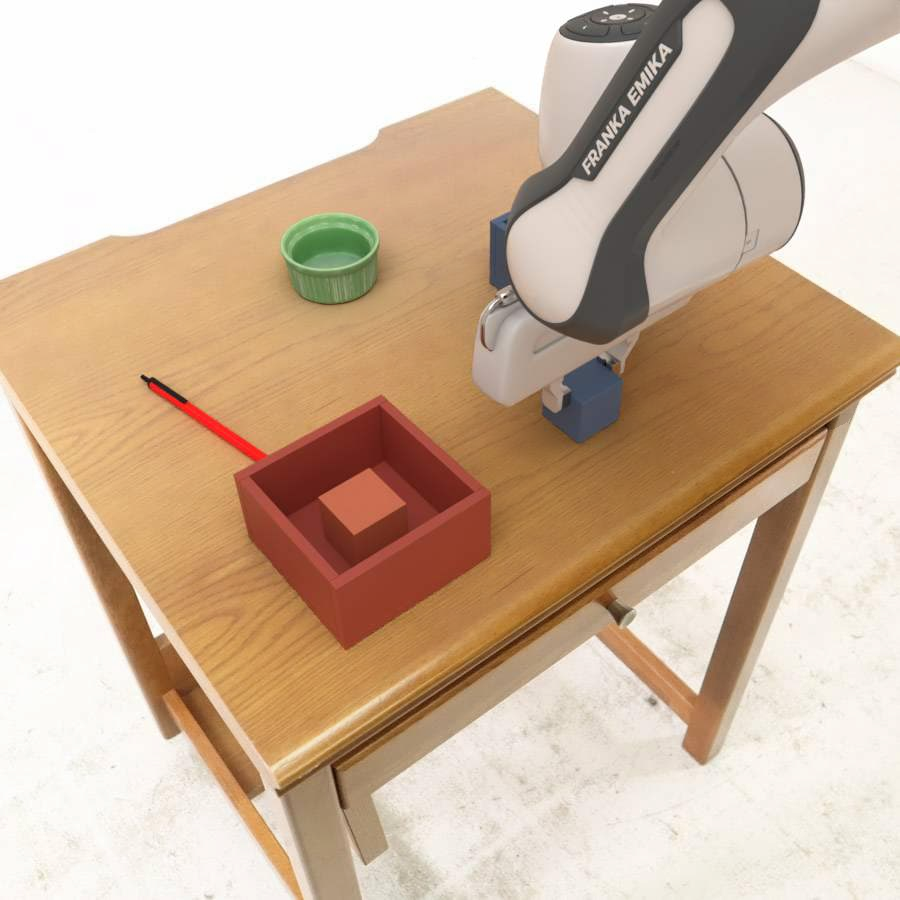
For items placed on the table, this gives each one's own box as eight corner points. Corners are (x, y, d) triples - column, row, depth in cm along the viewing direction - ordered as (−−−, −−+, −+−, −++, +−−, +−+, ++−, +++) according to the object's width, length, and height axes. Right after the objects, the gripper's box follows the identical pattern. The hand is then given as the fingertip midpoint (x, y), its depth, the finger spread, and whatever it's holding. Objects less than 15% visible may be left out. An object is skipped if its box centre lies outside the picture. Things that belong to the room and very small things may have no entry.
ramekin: (277, 262, 101) (270, 222, 98) (368, 243, 103) (365, 204, 100) (297, 318, 95) (291, 278, 92) (394, 297, 97) (391, 257, 94)
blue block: (618, 419, 86) (624, 379, 82) (578, 444, 84) (582, 404, 80) (581, 390, 88) (584, 350, 85) (541, 414, 86) (543, 374, 83)
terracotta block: (409, 543, 76) (406, 503, 73) (359, 575, 74) (354, 535, 71) (373, 507, 78) (369, 467, 75) (324, 537, 77) (317, 497, 73)
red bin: (490, 555, 76) (491, 492, 71) (345, 650, 71) (335, 589, 66) (387, 457, 83) (381, 394, 78) (248, 536, 78) (232, 474, 73)
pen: (147, 377, 90) (144, 367, 89) (303, 484, 81) (301, 474, 81) (139, 383, 90) (136, 373, 89) (295, 490, 81) (293, 480, 80)
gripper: (512, 326, 67) (509, 473, 77) (729, 208, 76) (701, 355, 86) (451, 279, 71) (455, 426, 81) (665, 172, 80) (644, 317, 90)
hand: (583, 388), depth 84 cm, fingers closed on blue block, 4 cm apart
